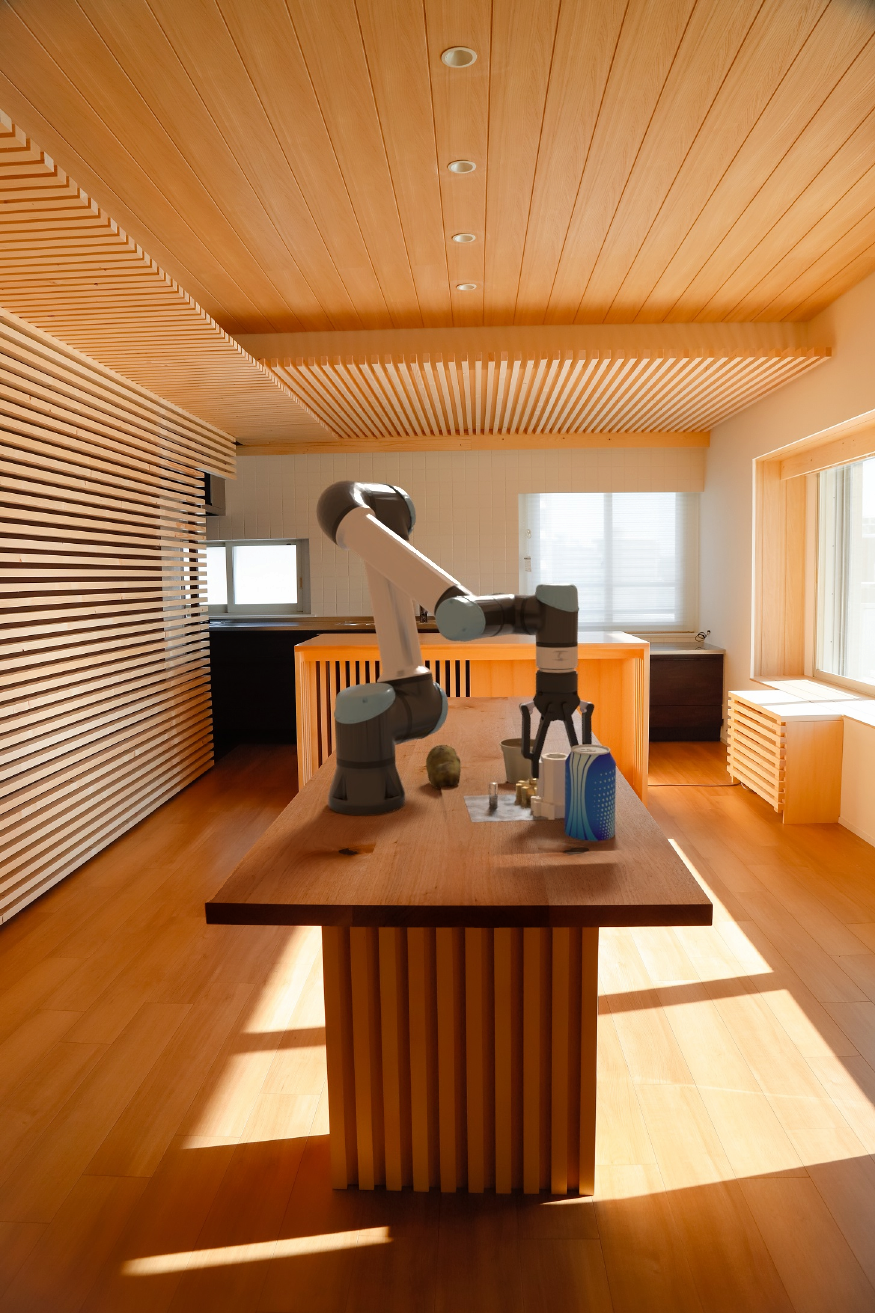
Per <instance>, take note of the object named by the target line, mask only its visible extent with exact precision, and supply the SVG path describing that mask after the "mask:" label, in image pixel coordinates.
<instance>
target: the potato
mask: <svg viewBox="0 0 875 1313" xmlns="http://www.w3.org/2000/svg"><path fill="white" fill-rule="evenodd" d="M425 768H426V771H427V778H428V781H429V783H430V785H431V786H432V787H433V788H435V789H437V790H442V787H443V788H453V787H456V786H458V785H459V784H460V779H461V771H462V770H461V759H460V757H459V756H458V754H457V752H456V750H455V748H453V747H452V746H449V745H448V744H446V745H445V744H440V745H436V746H434V747H432V748H431V749H430V751H428V754H427V756H426V761H425Z"/></svg>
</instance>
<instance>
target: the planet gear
mask: <svg viewBox="0 0 875 1313" xmlns="http://www.w3.org/2000/svg"><path fill="white" fill-rule="evenodd" d="M569 754H570V753H569ZM569 754H568V753H562V752H547V753H543V754H541V756H540V759H541V760H542V761H543V762H544V798H539V796H532V797H531V811H533V815H534V816H536V817H537V816H544V817H548V819H549V820H551V821H555V820H556V819H555V818H565V761H566V759H567V757H568V755H569ZM549 820H548V821H549Z"/></svg>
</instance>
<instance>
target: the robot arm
mask: <svg viewBox="0 0 875 1313" xmlns="http://www.w3.org/2000/svg"><path fill="white" fill-rule="evenodd" d="M315 513H316V519H317V523H318V525H319V528H320V530H321V531H322V532H323V533H324V535H325V536H326V537H327V538H328V539H329V540H330V541H331V542H332V543H333V544H335V545H337V546H338V548H340V549H341V550H343V551H346V552H347V551H349V552H350V551H352V552H353V553H355V554H356V555H357V556H359V558H361V559H362V560H363V562H364V568H365V574H366V581H367V586H368V592H369V598H370V603H371V610H372V615H373V622H374V627H375V632H376V633H375V634H376V639H377V645H378V651H379V657H380V662H381V669H382V672H381V675H380V676H379V677H378V678H377V681H376V682H368V683H367V682H366V683H364V684H362V683H361V684H356V685H352V686H351V685H350V686H349V687H346V688H344V689H342V690H341V691H339V692H338V693H337V694H336V697H335V701H334V711H333V717H334V727H335V728H334V730H335V731H334V734H335V737H334V738H335V755H336V756H335V758H336V761H335V762H336V767H335V771H334V774H333V779H332V781H331V786H330V788H329V792H328V797H327V798H328V808H329V809H330V810H332V811H334V812H336V813H339V814H343V815H348V816H349V815H350V816H351V815H352V816H373V815H375V816H377V815H382V814H387V813H391V812H394V811H397V810H399V809H402V808H403V807H404V806H405V804H406V792H405V788H404V785H403V782H402V779H401V776H400V774H399V770H398V768H397V764H396V762H397V760H396V746H397V745H400V744H401V745H402V744H405V743H409V742H411V741H414V740H422V739H426V738H427V737H428V736H430V735H433V734H435V733H436V732H438V731H439V730H440V729H441V728H442V727H443V725H444V724H445V722H446V721H447V717H448V713H449V700H448V699H449V698H448V695H447V694H446V691H445V690H444V689H443V688H442V687H441V685H440V684H439V683H437V682H436V681H434V677H433V671H432V670H431V669H429V668H428V667H426V666H425V665H424V662H423V656H422V650H421V645H420V639H419V638H420V637H419V632H418V627H417V621H416V615H415V609H414V604H413V601H415V603H417V604H418V605H419V606H420V607H422V608H423V609H424V610H425V611H427V612H428V613H429V614H430V615H432V616H433V617H434V618H435V625H436V627H437V629H438V631H439V634H440V635H441V636H442V637H443V638H444V639H446V640H448V641H452V642H472V641H475V640H480V639H486V638H493V637H494V638H496V637H500V636H501V637H502V636H508V635H509V636H510V635H517V636H519V635H520V636H535V667H536V668H537V669H538V670H536V671H535V693H534V696H533V698H532V700H531V701H527V702H525V703H524V702H521V703H520V704H519V705H518V708H519V711H520V713H521V714H520V715H521V736H520V738H521V754H522V756H523V757H524V758H525V759H529V760H531V775H532V777H533V778H534V779H537V795H538V796H539V798H544V762H543V761H542V760H541V755H542V752H543V748H544V744H545V740H546V738H547V734H548V731H549V727H550V726H551V722H556V721H560V722H563V724H564V729H565V732H566V735H567V740H568V742H569V744H568V745H569V747H570V748H571V747H573V746H576V745H580V743H579V740H578V736H577V734H576V729H575V725H574V719H573V714H574V713H575V711H576V710H577V709H578V707H579V711H580V712H581V745H585V744H591V745H593V739H592V737H593V735H592V732H593V731H592V730H593V729H592V726H593V725H592V715H593V713H594V710H595V704H594V703H593V702H591V701H590V700H589V701H588V700H587V701H586V700H582V699H581V698H580V696H579V693H578V690H579V688H578V686H579V685H578V682H579V676H578V675H579V674H578V671H577V670H576V669H577V668H578V665H579V653H578V652H579V651H578V650H579V646H578V644H579V643H578V642H579V641H578V636H579V635H578V634H579V632H578V630H579V611H580V607H579V592H578V587H577V586H576V585H574V584H573V583H560V582H559V583H539V584H537V585H536V586H535V593H533V594H532V593H531V594H525V593H523V594H520V593H504V592H498V593H497V592H495V593H487V594H484V595H476V594H475V593H473V592H472V591H471V590H469V589H468V588H467V587H465V586H464V585H462V584H461V583H460V582H459V581H457V580H456V579H455V578H453V577H452V576H451V575H450V574H448V572H446V571H444V570H443V569H442V568H440V567H439V566H438V565H436V563H434V562H432V560H430V559H429V558H427V557H426V556H425V555H423V554H422V553H421V552H420V551H418V550H416V549H415V548H414V547H413V546H412V545H410V544H411V543H410V535H411V534H412V533H413V530H414V526H415V525H416V521H417V513H416V507H415V504H414V502H413V500H412V498H411V497H410V495H409V494H408V493H407V492H406V491H404V490H403V489H402V488H401V487H398V486H395V485H392V484H388V483H383V482H379V483H377V482H376V483H375V482H366V481H364V482H363V481H355V480H348V479H347V480H340V481H337V482H334V483H332V484H330V485H329V486H328V487H326V488H325V489H324V490H323V491H322V492H321V494H320V496H319V498H318V500H317V503H316V511H315ZM535 708H536V709H537V711H538V712H539V714H540V718H539V724H538V728H537V731H536V736H535V738H534V739H535V742H534V745H533V749H532V752H530V738H531V733H532V732H531V731H532V730H531V726H532V721H531V715H532V714H533V713H534V709H535Z"/></svg>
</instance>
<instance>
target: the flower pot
mask: <svg viewBox="0 0 875 1313" xmlns="http://www.w3.org/2000/svg"><path fill="white" fill-rule="evenodd" d="M534 742H535V738H531V737H530V752H532V749H533V745H534ZM498 744H499V746H500V748H501V752H502V755H503V761H504V769H505V776H506V778H505V779H506V782H508V783H509V784H511V785H512V784H518V781H528V779H529V778H533V777H532V775H531V760H529V759H525V758H524V757H523V756H522V754H521V737H512V738H505V739H502V740H500V741H499V742H498Z"/></svg>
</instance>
